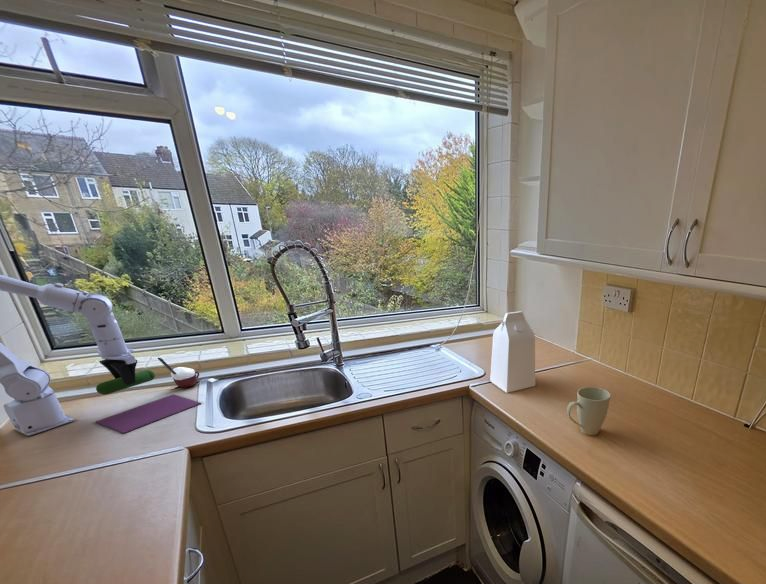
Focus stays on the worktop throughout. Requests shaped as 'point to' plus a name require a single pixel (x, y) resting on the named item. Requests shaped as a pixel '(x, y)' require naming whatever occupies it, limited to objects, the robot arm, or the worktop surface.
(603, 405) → the mug
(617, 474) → the worktop surface
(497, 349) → the milk
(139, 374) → the cucumber
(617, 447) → the worktop surface
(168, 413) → the towel
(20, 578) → the worktop surface
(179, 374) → the cocoa
